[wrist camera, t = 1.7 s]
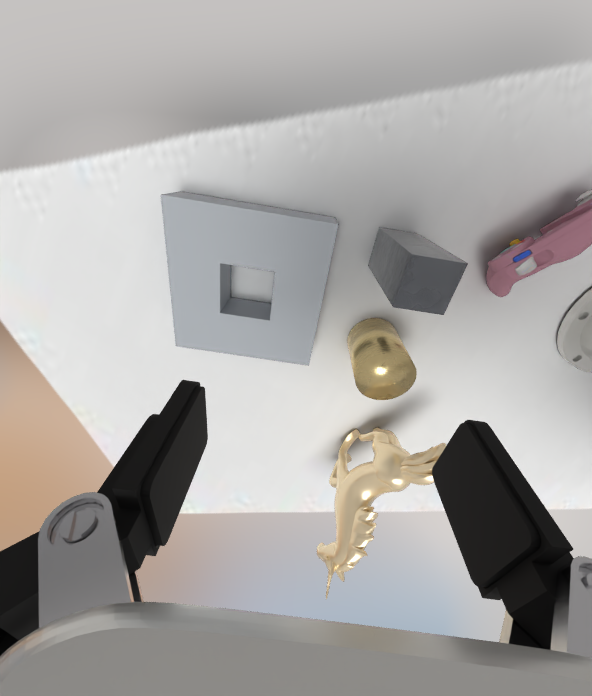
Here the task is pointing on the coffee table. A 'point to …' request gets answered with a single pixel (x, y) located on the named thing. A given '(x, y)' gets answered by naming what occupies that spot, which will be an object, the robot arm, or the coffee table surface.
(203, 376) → the coffee table surface
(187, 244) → the socket block
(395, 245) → the square bit
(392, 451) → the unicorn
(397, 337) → the round bit
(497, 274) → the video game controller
